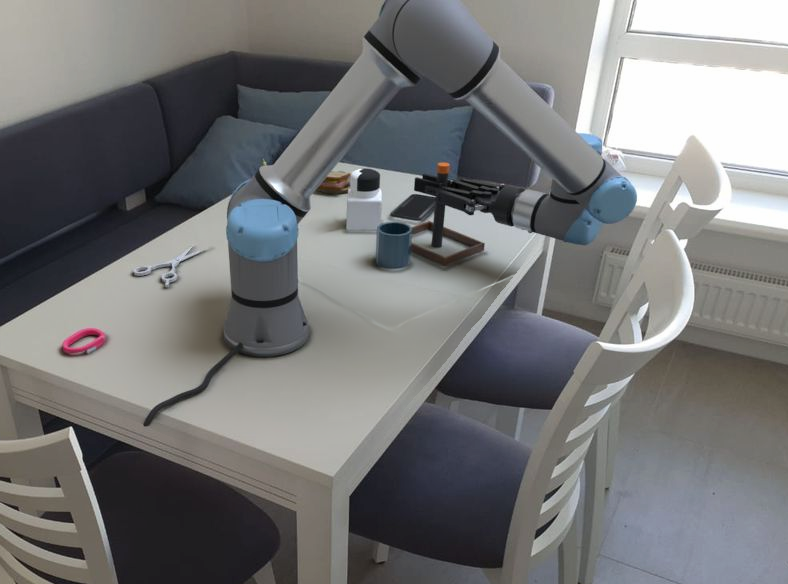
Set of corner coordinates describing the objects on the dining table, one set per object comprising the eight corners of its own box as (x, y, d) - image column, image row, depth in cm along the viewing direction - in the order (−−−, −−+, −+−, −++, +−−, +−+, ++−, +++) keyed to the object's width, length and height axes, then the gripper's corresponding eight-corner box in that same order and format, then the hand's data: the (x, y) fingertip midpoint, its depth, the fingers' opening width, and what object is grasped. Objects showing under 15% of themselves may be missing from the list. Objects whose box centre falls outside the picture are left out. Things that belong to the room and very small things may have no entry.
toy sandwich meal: (368, 183, 208) (369, 166, 205) (339, 199, 199) (340, 181, 196) (329, 174, 214) (329, 157, 212) (299, 189, 205) (299, 171, 203)
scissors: (125, 273, 164) (184, 238, 178) (126, 277, 165) (184, 241, 179) (167, 285, 160) (223, 247, 174) (167, 288, 160) (223, 251, 174)
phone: (442, 198, 195) (420, 219, 184) (442, 202, 195) (420, 223, 185) (412, 193, 198) (388, 213, 187) (412, 197, 199) (388, 218, 188)
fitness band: (80, 359, 138) (78, 352, 137) (56, 350, 141) (54, 343, 140) (112, 339, 144) (111, 331, 143) (89, 330, 146) (87, 323, 146)
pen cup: (392, 275, 163) (394, 238, 159) (368, 263, 168) (369, 227, 163) (417, 265, 167) (419, 229, 162) (393, 254, 171) (395, 219, 167)
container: (380, 220, 187) (382, 165, 180) (380, 233, 181) (382, 177, 174) (347, 219, 188) (348, 165, 181) (346, 232, 182) (347, 177, 174)
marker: (436, 249, 171) (443, 167, 161) (428, 245, 173) (435, 164, 163) (444, 246, 173) (452, 164, 163) (436, 242, 174) (443, 161, 164)
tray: (444, 269, 165) (445, 258, 163) (389, 244, 176) (390, 234, 174) (483, 253, 171) (484, 243, 170) (428, 230, 182) (429, 220, 180)
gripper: (497, 238, 153) (397, 209, 166) (535, 215, 162) (438, 189, 175) (502, 200, 149) (399, 174, 162) (541, 179, 158) (440, 155, 171)
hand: (419, 182), depth 169 cm, fingers closed on marker, 2 cm apart
